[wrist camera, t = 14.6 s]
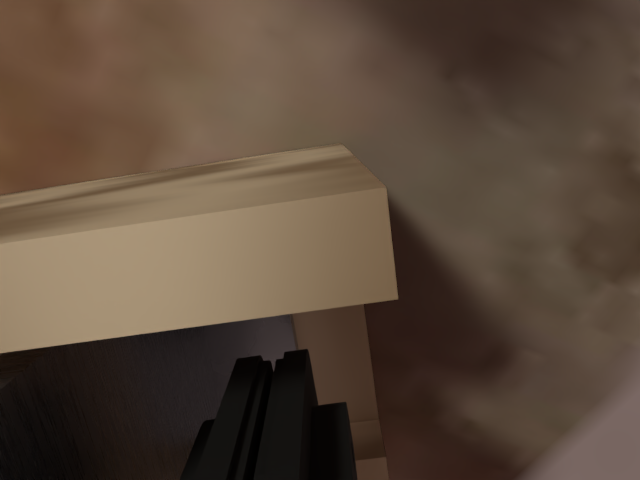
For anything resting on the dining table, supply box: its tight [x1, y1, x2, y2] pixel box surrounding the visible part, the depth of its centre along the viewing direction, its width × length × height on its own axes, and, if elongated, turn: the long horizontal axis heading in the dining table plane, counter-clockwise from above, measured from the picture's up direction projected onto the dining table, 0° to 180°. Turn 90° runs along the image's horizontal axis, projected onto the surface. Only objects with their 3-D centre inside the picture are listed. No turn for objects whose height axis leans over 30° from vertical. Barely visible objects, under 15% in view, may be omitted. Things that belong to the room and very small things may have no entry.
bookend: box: [0, 314, 299, 480], centre depth 10 cm, size 4×7×9 cm, turn 8°
